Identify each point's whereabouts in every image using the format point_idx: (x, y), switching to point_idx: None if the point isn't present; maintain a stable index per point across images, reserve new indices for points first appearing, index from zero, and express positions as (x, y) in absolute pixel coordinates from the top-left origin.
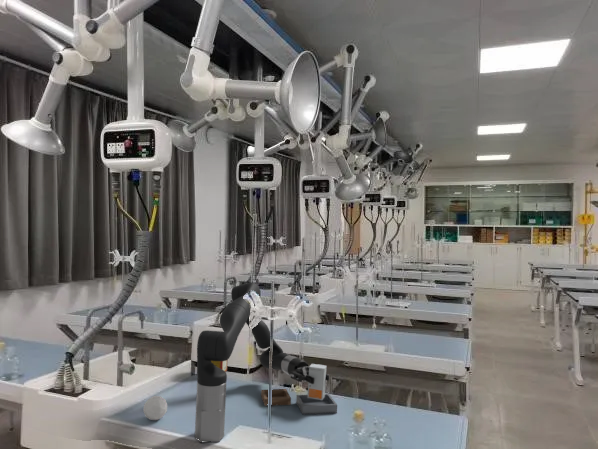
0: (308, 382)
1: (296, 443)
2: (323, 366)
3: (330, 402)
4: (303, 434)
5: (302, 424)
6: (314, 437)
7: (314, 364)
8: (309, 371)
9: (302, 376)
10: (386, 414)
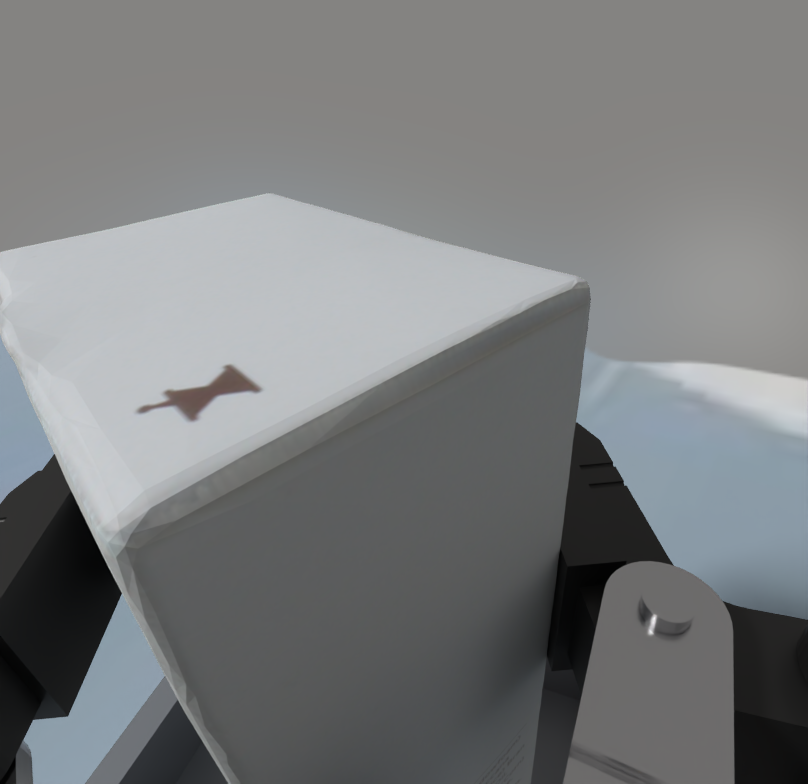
0: (542, 664)
1: (793, 377)
2: (126, 236)
3: (186, 732)
4: (728, 427)
5: (705, 531)
6: (661, 390)
7: (151, 379)
8: (560, 432)
9: (785, 641)
10: (37, 446)
